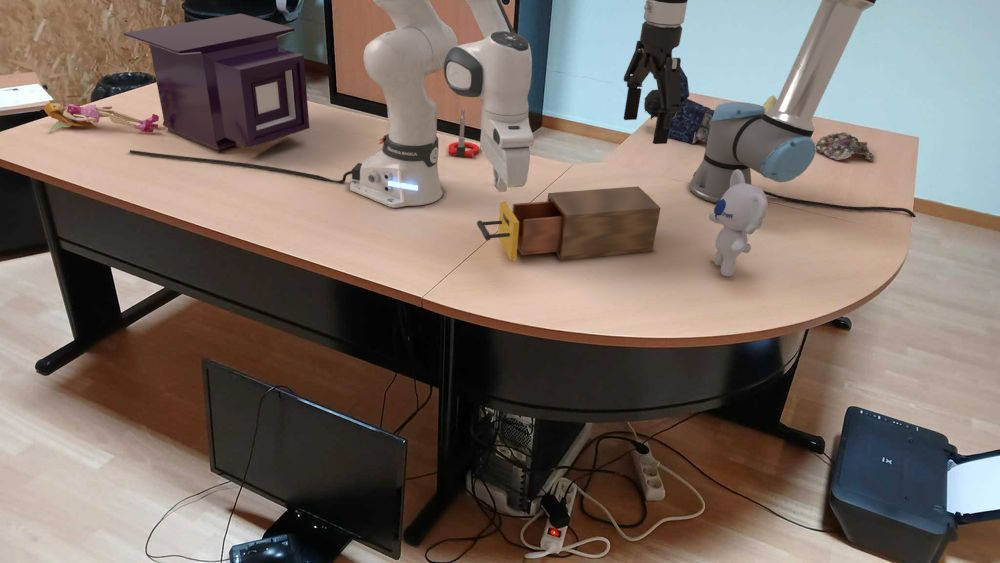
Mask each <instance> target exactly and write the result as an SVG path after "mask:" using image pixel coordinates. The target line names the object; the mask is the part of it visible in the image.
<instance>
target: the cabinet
mask: <svg viewBox="0 0 1000 563" xmlns="http://www.w3.org/2000/svg"><path fill="white" fill-rule="evenodd" d="M546 201H552V203H553V204H554V205H555V206H556V208H557V209H558V210H559V212H560V213H561V214H562V215H563V217H564V224H563V232H562V241H561V249H560V252H554V253H555V255H556V256H557V257H558V259H559V260H560V261H569V260H571V261H572V260H579V259H589V258H599V257H600V258H601V257H610V256H619V255H628V254H629V255H630V254H638V253H639V254H640V253H649V252H653V250H654V244H655V241H656V240H655V239H656V234H657V229H658V224H659V220H660V214H661V209H662V207H660V206H659V205H658V204H657V202H655V201H654V200H653V199H652V198H651V197H650V196H649V195H648V194H647V193H646V192H645V191H644V190H643V189H642V188H641V187H640V186H625V187H611V188H597V189H596V188H595V189H585V190H583V189H581V190H571V191H556V192H548V193H547V199H546Z"/></svg>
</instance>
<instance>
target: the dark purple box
mask: <svg viewBox="0 0 1000 563" xmlns="http://www.w3.org/2000/svg"><path fill="white" fill-rule="evenodd" d="M294 31H295V28H294V27H292V26H287V25H283V24H279V23H276V22H272V21H269V20H264V19H262V18H259V17H256V16H255V17H254V16H252V15H247V14H244V13H235V14H230V15H224V16H217V17H212V18H205V19H200V20H194V21H188V22H181V23H175V24H169V25H163V26H157V27H151V28H146V29H145V28H144V29H139V30H134V31H128V32H123V36H125V37H127V38H130V39H133V40H136V41H138V42H142V43H145V44H148V45H149V50H150V54H151V60H152V66H153V71H154V75H155V76H154V77H155V82H156V87H157V92H158V97H159V102H160V107H161V113H162V118H163V122H162V126H163V127H165V128H166V129H167V131H168V132H170V133H172V134H175V135H177V136H179V137H182V138H184V139H187V140H189V141H191V142H193V143H196V144H197V145H200V146H203V147H205V148H207V149H209V150H212V151H215V152H217V153H219V154H220V153H224V152H227V151H229V150H233V149H235V148H237V144H240V145H242V146H245V147H247V148H249V149H250V148H253V147H256V146H259V145H262V144H266V143H269V142H271V141H275V140H278V139H281V138H285V137H287V136H289V135H293V134H296V133H300V132H302V131H305V130H308V129H310V118H309V105H308V94H307V93H308V92H307V80H306V79H307V78H306V68H305V56H304V54H303V53H302V54H301V53H297V52H296V51H295V52H294V51H291V50H288V49H285V48H282V47H279V44H278V40H277V38H280V37H282V36H286V35H287V34H291V33H292V32H294Z"/></svg>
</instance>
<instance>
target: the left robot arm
mask: <svg viewBox="0 0 1000 563" xmlns="http://www.w3.org/2000/svg"><path fill="white" fill-rule="evenodd" d="M372 1H373V3H374V4H375V5H376V6H377V7H378V8H380V9H381V10H383V11H384V12H385V13H386V14H387V15H388V17H389V18H390V20H391V21H392V23H393V25H394V27H395V29H393V30H390V31H386V32H383V33H382V34H379V35H378V36H376V37H375V38H374V39H372V40H371V41H369V43H367V44H366V46H365V48H364V51H363V55H362V57H363V66H364V69H365V71H366V73H367V75H368V77H369V78H370V79H371V80H372V82H374V83H375V84H377V85H378V86H379V87H380V89H381V92H382V93H383V96H384V99H385V103H386V109H387V124H388V125H387V126H388V128H387V129H388V130H387V131H388V133H387V134H385V135H383V137H381V138H380V139H378V145H379V146H380V145H382V144H383V146H382V148H381V149H379V150H378V151H377V152H375V153H373V154H372V155H370V156H369V157H368V158H366V159H364V161H363V162H362V163H361V162H358V163H357V164H356V165H355V166H354V167H352V169H351V170H349V171H346V172H345V173H344V174H342V179H340V180H334V179H330V178H327V177H325V176H322V175H319V174H318V175H317V174H312V173H307V172H303V171H297V170H292V169H286V168H280V167H274V166H268V165H262V164H254V163H246V162H239V161H231V160H222V159H212V158H203V157H194V156H186V155H185V156H184V155H176V154H175V155H174V154H166V153H157V152H150V151H149V152H148V151H141V150H135V149H134V150H133V149H130V150H129V153H130V154H135V155H143V156H152V157H159V158H168V159H169V158H170V159H177V160H186V161H197V162H205V163H215V164H224V165H225V164H226V165H234V166H239V167H240V166H242V167H249V168H255V169H263V170H270V171H276V172H282V173H287V174H294V175H299V176H303V177H308V178H312V179H313V178H314V179H319V180H322V181H325V182H329V183H335V184H343V183H345V182H346V179H347V176H348V175H351V180H352V181H350V183H349V190H350V191H351V192H353V193H356V194H358V195H360V196H362V197H365V198H367V199H370V200H372V201H375V202H377V203H379V204H382V205H383V206H384V205H385V206H387V207H389V208H393V209H397V208H398V209H399V208H404V207H407V206H408V207H413V206H414V207H415V206H425V205H429V204H432V203H434V202H437V201H438V200H440V199H441V198H442V196H443V193H444V192H443V188H442V185H441V182H440V176H439V169H438V162H439V161H438V160H439V137H438V135H437V134H438V132H437V131H438V108H437V104H436V102H435V101H434V100H433V99H432V98H431V97H430V96H428V95H427V92H426V88H425V77H427V76H430V75H432V74H435V73H438V72H440V71H442V70H443V75H444V79H445V82H446V84H447V86H448V88H449V89H450V90H451V91H452V92H453V93H455V94H456V95H457V96H461V97H465V98H479V99H481V116H480V118H481V119H480V120H481V121H480V139H479V148H480V150H481V152H482V153H483V155H484V156H485V157H486V159H487V160H488V162H489V163H490V165H491V166H492V173H493V186H494V187H495V189H496V190H497V192H498V193H506V192H507V188H523V187H524V186H525V185H526V183H527V182H528V176H529V170H530V169H529V168H530V160H531V149H530V147H533V146H534V142H535V137H534V136H535V135H534V133H533V131H532V128H531V125H530V119H529V110H530V108H529V107H530V106H529V100H528V98H529V97H528V95H529V93H530V90H531V85H532V73H533V72H532V70H533V67H532V66H533V60H532V58H533V57H532V51H531V46H530V43H529V41H528V40H527V39H526V38H525V37H524V36H522V35H520V34H518V33H516V30H515V29H514V27H513V25H512V24H511V21H510V19H509V17H508V14H507V13H506V10H505V8H504V6H503V3H502V2H501V0H464V1H465V2H466V3H467V5H468V6H469V9H470V10H471V13H472V15H473V17H474V20H475V21H476V24H477V26H478V29H479V30H480V32H481V35H482V36H483V39H481V40H478V41H472V42H468V43H463V44H459V42H458V38H457V36H456V33H455V32H454V30H453V29H452V28H451V27H450V26H449V25H448V24H447V23H445V22H444V21H443V20H442V19H441V18H440V16H439V15H438V13H437V12H436V10H435V9H434V6H433V5H432V3H431V1H430V0H372Z"/></svg>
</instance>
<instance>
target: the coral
mask: <svg viewBox="0 0 1000 563" xmlns="http://www.w3.org/2000/svg"><path fill="white" fill-rule="evenodd" d="M815 151H816V152H818V153H824V155H825V156H827V157H828V158H830V159H832V160H835V161H839V160H840V161H841V160H844V159H848V158H851V157H852V155H853V154H854V155H857V154H859V155H860V156H861V158H863V159H865V160H866V161H871V162H874V160H875V159H874V158H875V155H874V154H873V153H872V152H871V151H870V149H869V147H868V142H867V141H859V139H858V137H855V136H853V135H852V134H851V133H849V132H848V131H846V132H844V131H843V132H836V133H830V134H827V135H826V136H822V137H820V138H819V140H818V141H817V142H816V143H815ZM873 157H874V158H873Z"/></svg>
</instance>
